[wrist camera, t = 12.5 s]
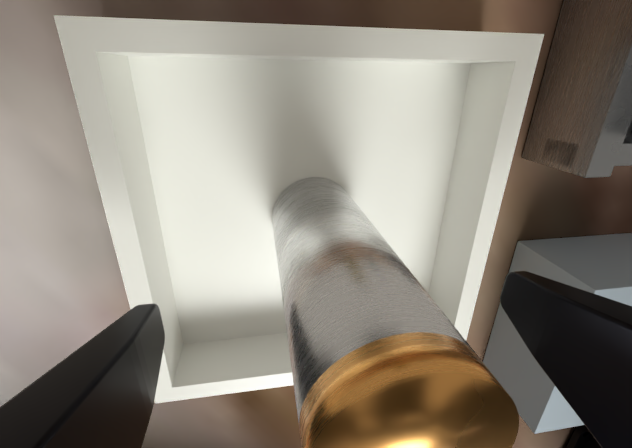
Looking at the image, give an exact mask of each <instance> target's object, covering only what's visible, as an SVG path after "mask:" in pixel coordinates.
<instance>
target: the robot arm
mask: <svg viewBox="0 0 632 448" xmlns="http://www.w3.org/2000/svg"><path fill="white" fill-rule="evenodd" d="M500 303H501V306H502V308H503V310H504V311H505V313H506V314H507V316H508V318H509V319H510V321H511V322H512V324H513V326H514V327H515V329H516V330H517V332H518V333H519V335H520V337H521V338H522V340H523V341H524V343H525V345H526V346H527V348H528V349H529V351H530V352H531V354H532V355H533V357H534V358H535V360H536V361H537V362H538V364H539V365H540V367H541V368H542V369H543V371H544V372H545V373H546V375H547V376H548V377H549V378H550V380H551V381H552V382H553V384H554V385H555V386H556V388H557V389H558V390H559V392H560V393H561V394H562V396H563V397H564V398H565V400H566V401H567V402H568V404H569V405H570V406H571V408H572V409H573V410H574V411H575V413H576V414H577V415H578V417H579V418H580V419H581V421H582V422H583V423H584V425H581V426H578V427H577V428H576V429H575V431H574V433H573V435H572V437H571V439H570V441H569V443H568V445H567V447H566V448H632V306H629V305H626V304H623V303H620V302H617V301H614V300H611V299H608V298H605V297H602V296H599V295H596V294H593V293H590V292H587V291H584V290H581V289H578V288H575V287H572V286H569V285H566V284H563V283H560V282H557V281H555V280H552V279H549V278H546V277H543V276H540V275H537V274H534V273H531V272H528V271H515V272H510V273H508V275H507V276H506V278H505V282H504V285H503V289H502V292H501V296H500ZM164 343H165V332H164V327H163V322H162V318H161V313H160V309H159V307H158V305H157V304H155V303H153V304H142V305H137V306H135V307H134V308H132V309H131V310H130V311H128V312H127V313H126V314H124V315H123V316H122V317H120V318H119V319H118V320H116V321H115V322H114V323H112V324H111V325H110V326H108V327H107V328H106V329H104V330H103V331H102V332H100V333H99V334H98V335H96V336H95V337H94V338H92V339H91V340H90V341H88V342H87V343H86V344H84V345H83V346H82V347H80V348H79V349H77V350H76V351H75V352H73V353H72V354H71V355H69V356H68V357H67V358H65V359H64V360H63V361H61V362H60V363H59V364H57V365H56V366H55V367H53V368H52V369H51V370H49V371H48V372H47V373H45V374H44V375H43V376H41V377H40V378H39V379H37V380H36V381H35V382H33V383H32V384H31V385H29V386H28V387H27V388H25V389H24V390H23V391H21V392H20V393H19V394H17V395H16V396H15V397H13V398H12V399H11V400H9V401H8V402H6V403H5V404H4V405H2V406H1V407H0V448H141V447H142V443H143V440H144V437H145V433H146V430H147V427H148V423H149V420H150V416H151V413H152V409H153V404H154V399H155V394H156V388H157V382H158V377H159V371H160V366H161V360H162V354H163V349H164Z"/></svg>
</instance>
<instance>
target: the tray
mask: <svg viewBox="0 0 632 448" xmlns="http://www.w3.org/2000/svg"><path fill="white" fill-rule="evenodd" d="M54 19H55V23H56V27H57V31H58V34H59V38H60V42H61V46H62V50H63V54H64V57H65V61H66V65H67V69H68V73H69V76H70V80H71V84H72V88H73V92H74V95H75V99H76V103H77V107H78V111H79V114H80V118H81V122H82V126H83V130H84V134H85V137H86V141H87V145H88V149H89V153H90V156H91V160H92V164H93V168H94V172H95V175H96V179H97V183H98V187H99V191H100V194H101V198H102V202H103V206H104V210H105V213H106V217H107V221H108V225H109V229H110V233H111V236H112V240H113V244H114V248H115V252H116V255H117V259H118V263H119V267H120V271H121V274H122V278H123V282H124V286H125V290H126V293H127V297H128V301H129V305H130V309H132V308H134V307H135V306H137V305H142V304H153V303H155V304H157V305H158V307H159V309H160V313H161V318H162V322H163V327H164V332H165V343H164V349H163V354H162V360H161V366H160V371H159V377H158V382H157V388H156V394H155V399H154V400H155V404H156V403H163V402H171V401H178V400H186V399H193V398H200V397H208V396H215V395H223V394H230V393H238V392H245V391H253V390H260V389H268V388H275V387H283V386H290V385H294V383H293V375H292V368H291V360H290V353H289V345H288V338H287V330H286V323H285V315H284V308H283V300H282V293H281V285H280V278H279V270H278V263H277V255H276V248H275V240H274V233H273V225H272V211H273V207H274V204H275V202H276V200H277V198H278V197H279V195H280V194H281V193H282V192H283V190H284V189H286V188H287V187H288V186H289V185H291V184H292V183H294V182H296V181H298V180H301V179H304V178H308V177H322V178H327V179H330V180H333V181H335V182H336V183H338V184H340V185H341V186H342V187H343V188H344V189H345V190H346V191H347V192H348V194H349V195H350V196H351V197H352V199H353V200H354V201H355V203H356V204H357V205H358V206H359V208H360V209H361V210H362V211H363V213H364V214H365V215H366V216H367V218H368V219H369V220H370V221H371V223H372V224H373V225H374V226H375V228H376V229H377V230H378V231H379V233H380V234H381V235H382V236H383V238H384V239H385V240H386V241H387V243H388V244H389V245H390V246H391V248H392V249H393V250H394V251H395V253H396V254H397V255H398V256H399V258H400V259H401V260H402V261H403V263H404V264H405V265H406V266H407V268H408V269H409V270H410V271H411V273H412V274H413V275H414V276H415V278H416V279H417V280H418V282H419V283H420V284H421V285H422V287H423V288H424V289H425V290H426V292H427V293H428V294H429V295H430V297H431V298H432V299H433V300H434V302H435V303H436V304H437V305H438V307H439V308H440V309H441V310H442V312H443V313H444V314H445V315H446V317H447V318H448V319H449V320H450V322H451V323H452V324H453V325H454V327H455V328H456V329H457V330H458V332H459V333H460V334H461V335H462V337H463V338H464V339H465V340H466V339H467V335H468V331H469V327H470V323H471V319H472V316H473V312H474V308H475V304H476V300H477V296H478V292H479V288H480V284H481V280H482V276H483V272H484V268H485V265H486V261H487V257H488V253H489V249H490V245H491V241H492V237H493V233H494V229H495V225H496V221H497V218H498V214H499V210H500V206H501V202H502V198H503V194H504V190H505V186H506V182H507V178H508V174H509V171H510V167H511V163H512V159H513V155H514V151H515V147H516V143H517V139H518V135H519V131H520V127H521V123H522V120H523V116H524V112H525V108H526V104H527V100H528V96H529V92H530V88H531V84H532V80H533V76H534V73H535V69H536V65H537V61H538V57H539V53H540V49H541V45H542V41H543V37H544V34H528V33H502V32H476V31H450V30H424V29H398V28H372V27H346V26H320V25H294V24H268V23H242V22H216V21H190V20H164V19H137V18H111V17H85V16H59V15H54Z"/></svg>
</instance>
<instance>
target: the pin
mask: <svg viewBox="0 0 632 448" xmlns="http://www.w3.org/2000/svg"><path fill="white" fill-rule="evenodd" d="M272 225H273V233H274V240H275V248H276V255H277V263H278V270H279V278H280V285H281V293H282V300H283V308H284V315H285V323H286V330H287V338H288V345H289V353H290V360H291V368H292V375H293V383H294V391H295V398H296V406H297V413H298V421H299V428H300V436H301V443H302V448H512V446H513V444H514V442H515V439H516V436H517V433H518V427H519V415H518V411H517V407H516V405H515V403H514V401H513V400H512V398H511V397H510V396H509V394H508V393H507V392H506V391H505V389H504V388H503V387H502V386H501V384H500V383H499V382H498V381H497V379H496V378H495V377H494V376H493V374H492V373H491V372H490V371H489V369H488V368H487V367H486V366H485V364H484V363H483V362H482V361H481V359H480V358H479V357H478V355H477V354H476V353H475V352H474V350H473V349H472V348H471V347H470V345H469V344H468V343H467V342H466V340H465V339H464V338H463V337H462V335H461V334H460V333H459V332H458V330H457V329H456V328H455V327H454V325H453V324H452V323H451V322H450V320H449V319H448V318H447V317H446V315H445V314H444V313H443V312H442V310H441V309H440V308H439V307H438V305H437V304H436V303H435V302H434V300H433V299H432V298H431V297H430V295H429V294H428V293H427V292H426V290H425V289H424V288H423V287H422V285H421V284H420V283H419V282H418V280H417V279H416V278H415V276H414V275H413V274H412V273H411V271H410V270H409V269H408V268H407V266H406V265H405V264H404V263H403V261H402V260H401V259H400V258H399V256H398V255H397V254H396V253H395V251H394V250H393V249H392V248H391V246H390V245H389V244H388V243H387V241H386V240H385V239H384V238H383V236H382V235H381V234H380V233H379V231H378V230H377V229H376V228H375V226H374V225H373V224H372V223H371V221H370V220H369V219H368V218H367V216H366V215H365V214H364V213H363V211H362V210H361V209H360V208H359V206H358V205H357V204H356V203H355V201H354V200H353V199H352V197H351V196H350V195H349V194H348V192H347V191H346V190H345V189H344V188H343V187H342V186H341V185H340V184H338V183H336V182H335V181H333V180H330V179H327V178H322V177H308V178H304V179H301V180H298V181H296V182H294V183H292V184H291V185H289V186H288V187H287V188H286V189H284V190H283V192H282V193H281V194H280V195H279V197H278V198H277V200H276V202H275V204H274V207H273V211H272Z"/></svg>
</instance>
